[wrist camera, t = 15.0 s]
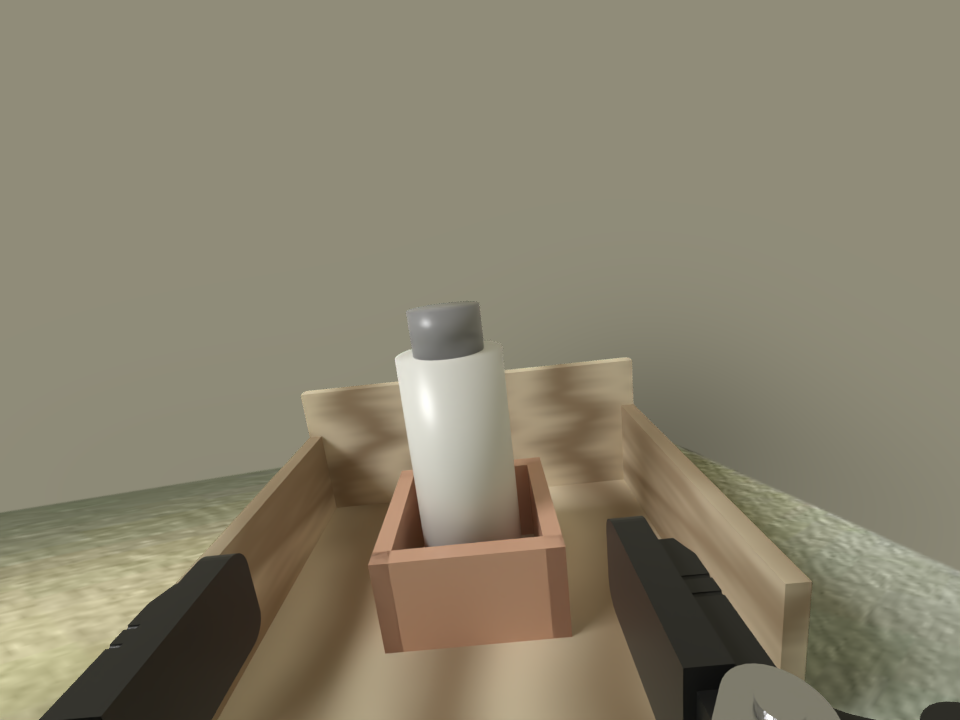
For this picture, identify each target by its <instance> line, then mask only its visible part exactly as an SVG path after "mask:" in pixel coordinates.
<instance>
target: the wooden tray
mask: <svg viewBox="0 0 960 720" xmlns="http://www.w3.org/2000/svg"><path fill="white" fill-rule="evenodd" d="M632 379H633V378H632V360H631V359H630V358H628V357H624V358H615V359H605V360H596V361H587V362H577V363H569V364H558V365H549V366H539V367H530V368H521V369H512V370H505V380H506V390H507V399H508V409H509V419H510V429H511V438H512V448H513V458H514V467H515V477H516V487H517V496H518V506H519V516H520V525H521V535H522V538H518V539H507V540H497V541H486V542H476V543H466V544H455V545H445V546H434V547H425V543H424V536H423V530H422V524H421V518H420V512H419V506H418V499H417V493H416V487H415V481H414V475H413V468H412V462H411V456H410V450H409V444H408V438H407V431H406V425H405V419H404V413H403V407H402V401H401V394H400V388H399V382H389V383H379V384H370V385H360V386H351V387H341V388H332V389H323V390H313V391H305V392H304V393H303V394H302V395H301V398H302V403H303V408H304V412H305V417H306V421H307V426H308V431H309V435H310V438H309V439H308V440H307V441H306V442H305V443H304V445H303V446H302V447H301V448H300V449H299V450H298V451H297V452H296V453H295V454H294V455H293V456H292V457H291V459H290V460H289V461H288V462H287V463H286V464H285V465H284V466H283V467H282V468H281V469H280V470H279V472H278V473H277V474H276V475H275V476H274V477H273V478H272V479H271V480H270V481H269V482H268V484H267V485H266V486H265V487H264V488H263V489H262V490H261V491H260V492H259V493H258V494H257V495H256V497H255V498H254V499H253V500H252V501H251V502H250V503H249V504H248V505H247V506H246V507H245V509H244V510H243V511H242V512H241V513H240V514H239V515H238V516H237V517H236V518H235V519H234V520H233V522H232V523H231V524H230V525H229V526H228V527H227V528H226V529H225V530H224V531H223V532H222V534H221V535H220V536H219V537H218V538H217V539H216V540H215V541H214V542H213V543H212V544H211V545H210V547H209V548H208V549H207V550H206V551H205V552H204V553H203V554H202V555H201V556H200V557H199V559H198V560H197V561H196V562H195V563H194V564H193V565H192V566H191V567H190V568H189V569H188V570H187V572H186V573H185V574H184V575H183V576H182V577H181V578H180V579H179V580H178V581H177V582H176V584H178V582H179V581H180V580H181V579H182V578H183V577H184V576H185V575H186V574H187V573H188V571H189V570H190V569H191V568H192V567H193V566H194V565H195V564H196V563H197V562H198V561H199V560H200V559H201V558H203V557H205V556H214V555H225V554H235V553H241V554H243V555H244V556H245V558H246V559H247V562H248V566H249V569H250V573H251V577H252V581H253V584H254V588H255V592H256V596H257V599H258V603H259V607H260V611H261V626H260V631H259V635H258V638H257V641H256V643H255V645H254V647H253V648H252V650H251V652H250V654H249V655H248V657H247V659H246V661H245V662H244V664H243V666H242V668H241V669H240V671H239V673H238V675H237V676H236V678H235V680H234V682H233V683H232V685H231V687H230V688H229V690H228V692H227V694H226V695H225V697H224V699H223V701H222V702H221V704H220V706H219V708H218V709H217V711H216V713H215V715H214V716H213V718H212V720H656V719H655V716H654V714H653V711H652V708H651V706H650V703H649V700H648V698H647V695H646V692H645V690H644V687H643V684H642V682H641V679H640V676H639V674H638V671H637V668H636V666H635V663H634V660H633V658H632V655H631V653H630V650H629V647H628V645H627V642H626V639H625V637H624V634H623V631H622V629H621V626H620V623H619V621H618V618H617V615H616V613H615V609H614V606H613V602H612V598H611V593H610V587H609V577H608V556H607V535H606V522H607V519H611V518H621V517H632V516H643V517H644V518H645V519H646V520H647V522H648V524H649V525H650V527H651V528H652V530H653V532H654V533H655V535H656V536H657V538H658V539H667V538H674V539H676V540H677V541H678V542H680V543H681V544H683V545H684V546H686V547H687V548H688V549H690V550H691V551H693V552H694V553H695V554H696V555H697V557H698V558H699V559H700V561H701V562H702V564H703V565H704V566H705V568H706V569H707V571H708V572H709V574H710V577H712V578H713V579H714V580H715V582H716V583H717V585H718V586H719V587H720V589H721V590H722V594H723V595H725V596H726V597H727V598H728V600H729V601H730V603H731V604H732V605H733V607H734V608H735V610H736V611H737V612H738V614H739V615H740V617H741V618H742V619H743V621H744V622H745V624H746V625H747V626H748V628H749V629H750V631H751V632H752V633H753V635H754V636H755V638H756V639H757V640H758V642H759V643H760V645H761V646H762V647H763V649H764V650H765V652H766V653H767V654H768V656H769V657H770V659H771V660H772V661H773V663H774V664H775V665H776V667H777V668H779V669H782V670H784V671H787V672H789V673H791V674H793V675H795V676H797V677H798V678H800V679H802V680H803V681H805V669H806V656H807V643H808V631H809V618H810V605H811V592H812V581H811V580H810V579H809V578H808V577H807V576H806V575H805V574H804V573H803V572H802V571H801V570H800V569H799V568H798V567H797V566H796V565H795V564H794V563H793V562H792V561H791V560H790V559H789V558H788V557H787V556H786V555H785V554H784V553H783V552H782V551H781V550H780V549H779V548H778V547H777V546H776V545H775V544H774V543H773V542H772V541H771V540H770V539H769V538H768V537H767V536H766V535H765V534H764V533H763V532H762V531H761V530H760V529H759V528H758V527H757V526H756V525H755V524H754V523H753V522H752V521H751V520H750V519H749V518H748V517H747V516H746V515H745V514H744V513H743V512H742V511H741V510H740V509H739V508H738V507H737V506H736V505H735V504H734V503H733V502H732V501H731V500H729V499H728V498H727V497H726V496H725V495H724V494H723V493H722V492H721V491H720V490H719V489H718V488H717V487H716V486H715V485H714V484H713V483H712V482H711V481H710V480H709V479H708V478H707V477H706V476H705V475H704V474H703V473H702V472H701V471H700V470H699V469H698V468H697V467H696V466H695V465H694V464H693V463H692V462H691V461H690V460H689V459H688V458H687V457H686V456H685V455H684V454H683V453H682V452H681V451H680V450H679V449H678V448H677V447H676V446H675V445H674V444H673V443H672V442H671V441H670V440H669V439H668V438H667V437H666V436H665V435H664V434H663V433H662V432H661V431H660V430H659V429H658V428H657V427H656V426H655V425H654V424H653V423H652V422H651V421H650V420H649V419H648V418H647V417H646V416H645V415H644V414H643V413H642V412H641V411H640V410H639V409H638V408H637V407H636V406H635V405H634V404H633V380H632Z"/></svg>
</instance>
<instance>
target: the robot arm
mask: <svg viewBox="0 0 960 720" xmlns="http://www.w3.org/2000/svg"><path fill="white" fill-rule="evenodd" d="M606 535H607V556H608V577H609V587H610V593H611V598H612V602H613V606H614V609H615V613H616V615H617V618H618V621H619V623H620V626H621V629H622V631H623V634H624V637H625V639H626V642H627V645H628V647H629V650H630V653H631V655H632V658H633V660H634V663H635V666H636V668H637V671H638V674H639V676H640V679H641V682H642V684H643V687H644V690H645V692H646V695H647V698H648V700H649V703H650V706H651V708H652V711H653V714H654V716H655V719H656V720H874V719H869V718H864V717H860V716H856V715H852V714H848V713H845V712H842V711H839V710H837V709H834V708H833V707H832V706H831V705H830V703H829V702H828V701H827V700H826V699H825V698H824V697H823V696H822V695H821V694H820V693H819V692H818V691H817V690H815V689H814V688H813V687H812V686H810V685H809V684H808V683H806V682H805V681H803V680H802V679H800V678H798V677H797V676H795V675H793V674H791V673H789V672H787V671H784V670H782V669H779V668H777V667H776V665H775V664H774V663H773V661H772V660H771V659H770V657H769V656H768V654H767V653H766V652H765V650H764V649H763V647H762V646H761V645H760V643H759V642H758V640H757V639H756V638H755V636H754V635H753V633H752V632H751V631H750V629H749V628H748V626H747V625H746V624H745V622H744V621H743V619H742V618H741V617H740V615H739V614H738V612H737V611H736V610H735V608H734V607H733V605H732V604H731V603H730V601H729V600H728V598H727V597H726V596H725V595H723V594H722V590H721V589H720V587H719V586H718V585H717V583H716V582H715V580H714V579H713V578H712V577H710V574H709V572H708V571H707V569H706V568H705V566H704V565H703V564H702V562H701V561H700V559H699V558H698V557H697V555H696V554H695V553H694V552H693V551H691V550H690V549H688V548H687V547H686V546H684V545H683V544H681V543H680V542H678V541H677V540H676V539H674V538H667V539H658V538H657V536H656V535H655V533H654V532H653V530H652V528H651V527H650V525H649V524H648V522H647V520H646V519H645V518H644V517H643V516H632V517H621V518H611V519H607V522H606ZM260 626H261V611H260V607H259V603H258V599H257V596H256V592H255V588H254V584H253V581H252V577H251V573H250V569H249V566H248V562H247V559H246V558H245V556H244V555H243V554H241V553H235V554H225V555H214V556H205V557H203V558H201V559H200V560H199V561H198V562H197V563H196V564H195V565H194V566H193V567H192V568H191V569H190V570H189V571H188V573H187V574H186V575H185V576H184V577H183V578H182V579H181V580H180V581H179V582H178V584H175V585H173V586H172V587H171V588H169V589H168V590H167V591H165V592H164V593H162V594H161V595H160V596H158V597H157V598H155V599H154V600H153V601H151V602H150V603H149V604H148V605H147V606H146V607H145V608H144V609H143V610H142V611H141V612H140V613H139V614H138V615H137V616H136V617H135V618H134V620H133V621H132V622H131V623H130V624H129V625H128V629H127V630H123V631H122V632H121V633H120V634H119V635H118V637H117V638H116V639H115V640H114V641H113V642H112V643H111V644H110V648H109V649H105V650H104V651H103V652H102V654H101V655H100V656H99V657H98V658H97V659H96V660H95V661H94V662H93V663H92V664H91V665H90V666H89V667H88V668H87V669H86V670H85V672H84V673H83V674H82V675H81V676H80V677H79V678H78V679H77V680H76V681H75V682H74V683H73V684H72V685H71V686H70V687H69V689H68V690H67V691H66V692H65V693H64V694H63V695H62V696H61V697H60V698H59V699H58V700H57V701H56V702H55V703H54V704H53V706H52V707H51V708H50V709H49V710H48V711H47V712H46V713H45V714H44V715H43V716H42V717H41V718H40V719H39V720H212V718H213V716H214V715H215V713H216V711H217V709H218V708H219V706H220V704H221V702H222V701H223V699H224V697H225V695H226V694H227V692H228V690H229V688H230V687H231V685H232V683H233V682H234V680H235V678H236V676H237V675H238V673H239V671H240V669H241V668H242V666H243V664H244V662H245V661H246V659H247V657H248V655H249V654H250V652H251V650H252V648H253V647H254V645H255V643H256V641H257V638H258V635H259V631H260ZM920 720H960V703H959V702H939V703H935V704H932V705H929V706H928V707H927V708H925V709H924V710H923V712H922V714H921V716H920Z"/></svg>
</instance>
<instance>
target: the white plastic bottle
mask: <svg viewBox="0 0 960 720" xmlns="http://www.w3.org/2000/svg"><path fill="white" fill-rule="evenodd" d="M406 314H407V320H408V327H409V334H410V340H411V346H412V349H410V350H407V351H405V352H403V353H401V354H399V355H397V357H396V358H395V363H396V370H397V376H398V382H399V388H400V394H401V401H402V407H403V413H404V419H405V425H406V431H407V438H408V444H409V450H410V456H411V462H412V468H413V475H414V481H415V487H416V493H417V499H418V506H419V512H420V518H421V524H422V530H423V536H424V543H425V547H434V546H445V545H455V544H466V543H476V542H486V541H497V540H507V539H518V538H522V535H521V525H520V516H519V506H518V496H517V487H516V477H515V467H514V458H513V448H512V438H511V429H510V419H509V409H508V399H507V390H506V380H505V370H504V361H503V352H502V345H501V344H500V343H499V342H495V341H490V340H483V333H482V325H481V315H480V306H479V302H475V301H463V302H451V303H441V304H434V305H428V306H423V307H418V308H413V309H410V310H408V311H406Z"/></svg>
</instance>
